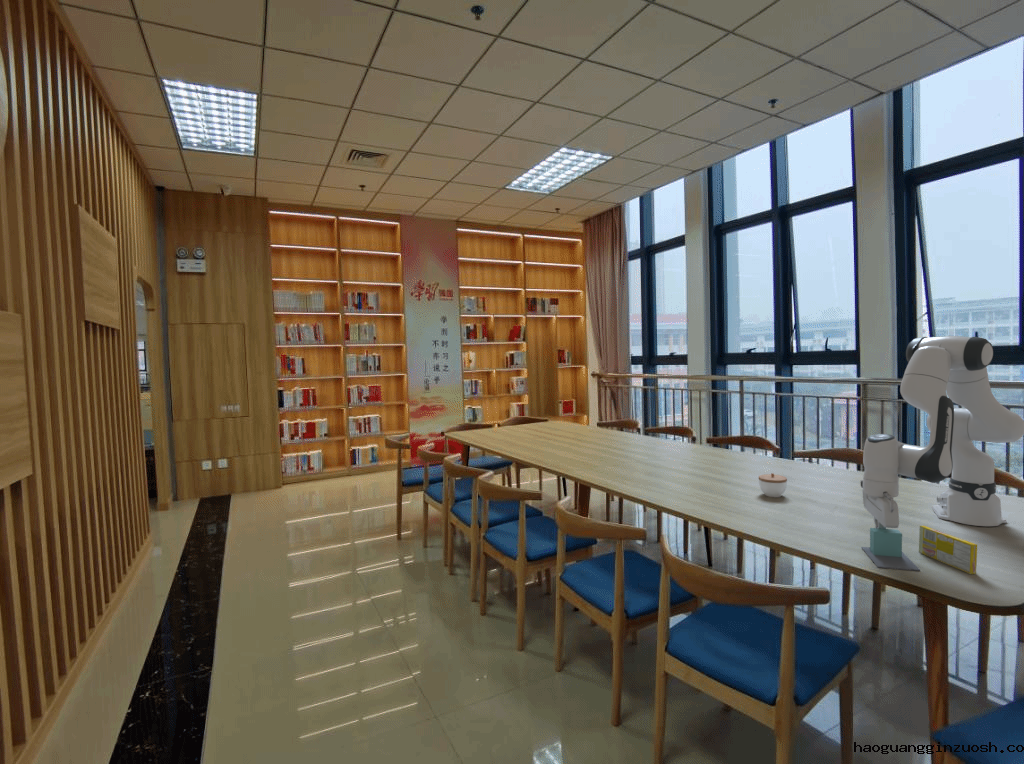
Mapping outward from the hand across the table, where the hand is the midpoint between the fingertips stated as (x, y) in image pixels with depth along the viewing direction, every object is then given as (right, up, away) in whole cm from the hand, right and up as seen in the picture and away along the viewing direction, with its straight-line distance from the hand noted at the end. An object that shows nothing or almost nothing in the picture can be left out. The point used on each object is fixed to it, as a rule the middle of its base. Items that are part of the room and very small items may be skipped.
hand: (880, 532), depth 159 cm
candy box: (+12, -6, -10) cm, 16 cm away
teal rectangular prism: (-1, -5, -4) cm, 6 cm away
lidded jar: (-2, -2, +61) cm, 61 cm away
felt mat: (-2, -6, -6) cm, 9 cm away
